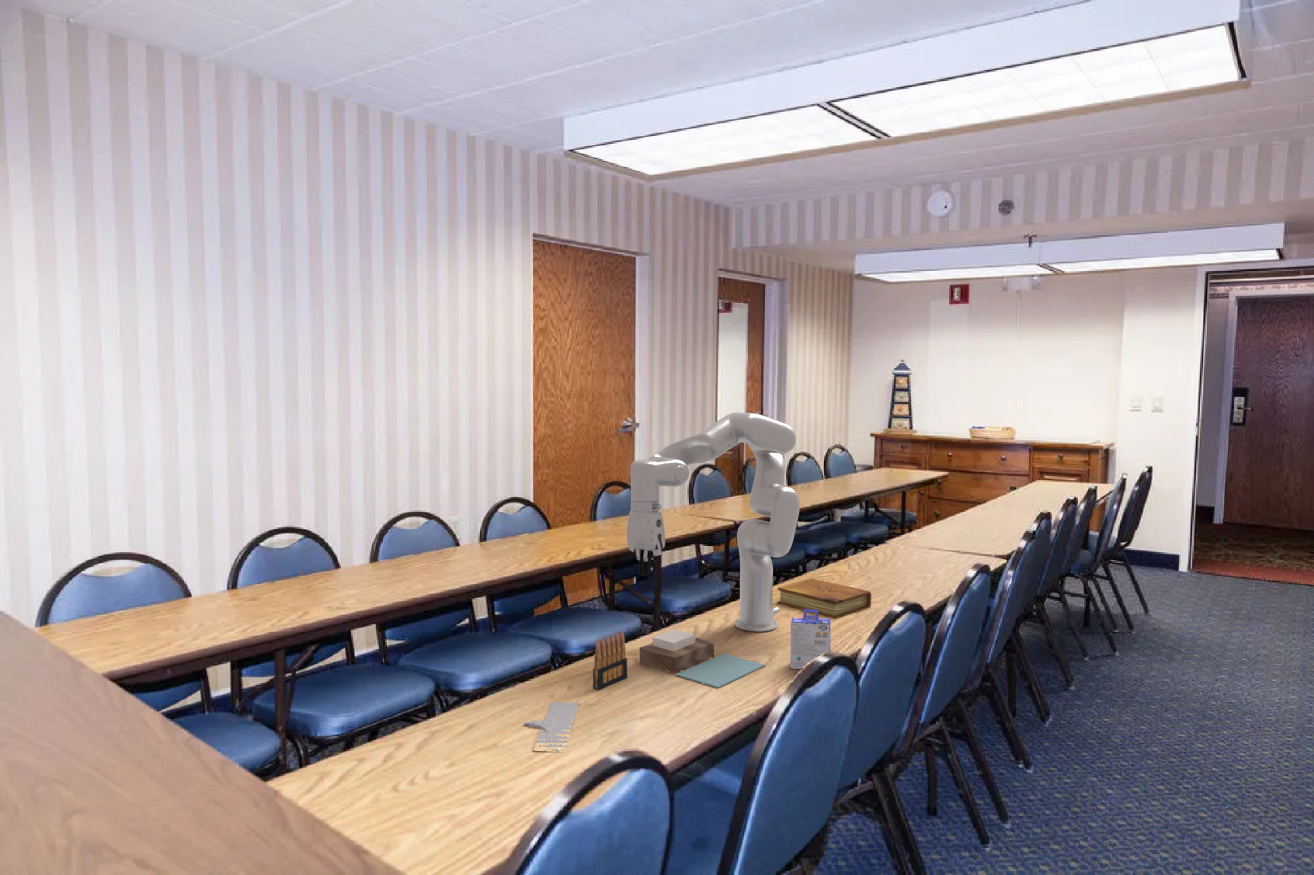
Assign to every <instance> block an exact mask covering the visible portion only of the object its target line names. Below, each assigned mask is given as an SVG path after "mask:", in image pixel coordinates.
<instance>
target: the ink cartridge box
mask: <svg viewBox="0 0 1314 875" xmlns="http://www.w3.org/2000/svg"><path fill="white" fill-rule="evenodd" d="M808 613H813V614H815V615H811V614H809V615H808ZM831 634H832V633H831V619H830V618H822V617H821V618H819V614H818V610H811V609H804V610H803V617H796V616H793V617H791V621H790V667H789V668H790V669H792V670H793V669H794V670H803V669H802V668H803V666H805V665H806V664H807V663H808V662H810V661H811V660H813V659H814V658H815V657H818V656H820V655H821V654H823V653H827V652H830V653H831V643H832V642H831V640H832V639H831Z"/></svg>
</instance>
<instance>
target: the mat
mask: <svg viewBox="0 0 1314 875" xmlns="http://www.w3.org/2000/svg"><path fill="white" fill-rule="evenodd" d="M764 667H766V664H765V663H761V662H756V661H755V660H749V659H745V658H742V657H738V656H735V655H731V654H727V653H722V654H720V655H718V656H714V657H713V658H711V659H709V660H706V661H704V662H702V663H699V664H697V665H695V666H692V667H690V668H688V669H685V670H683V671H681V672H678V673H676V674H675V676H676V675H677V676H676V677H678V676H680V677H679V678H682V677H683V678H682V679H685V680H688V679H690V680H689V681H692V680H693V681H692V682H695V683H698V684H701V683H704V684H703V685H705V684H706V686H708V685H709V686H708V687H712V688H715V687H716V689H718V688H719V689H720V687H721V688H723V687H725V686H727V685H730V684H731V683H733V682H735V681H738V680H739V679H743V678H744V677H746V676H748V675H751V673H754V672H757V671H758V670H760V669H762V668H764Z"/></svg>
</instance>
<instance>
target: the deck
mask: <svg viewBox="0 0 1314 875" xmlns="http://www.w3.org/2000/svg"><path fill="white" fill-rule="evenodd" d="M711 657H713V658H715V641H710V640H707V639H704V638H700V637H696V636H695V643H694V644H691V645H689V646H686V647H684V648H681V649H679V650H676V651H670V650H667V649H663V648H659V647H656V646H653V642H651V643H648V644H646V645H642V646H640V647H639V664H642V665H646V666H648V667H651V666H653V667H652V668H655V669H658V668H659V669H658V670H661V669H662V670H661V671H665V670H667V671H666V672H668V671H670V672H669V673H671V672H673V673H672V674H675V673H676V674H678V673H680V671H681V670H683V671H685V670H687V668H688V669H689V667H690V668H692V667H694V666H696V665H699V664H701V663H700V662H702V663H703V661H704V662H706V661H708V659H709V658H711ZM711 659H712V658H711ZM705 660H706V661H705ZM709 660H710V659H709ZM691 666H692V667H691ZM681 672H682V671H681Z"/></svg>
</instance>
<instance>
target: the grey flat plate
mask: <svg viewBox="0 0 1314 875" xmlns="http://www.w3.org/2000/svg"><path fill="white" fill-rule="evenodd" d="M579 705H580V702H574V701H573V702H568V701H567V702H566V701H565V702H563V701H552V702H551V703H550V705H549V707H548V710H547V713H546V715H545V718H544V719H542V720H535V719H533V720H531V721H529V722H525V721H524V723H523V727H529V726H530V727H536V728H535V729H539V728H540V729H539V732H538V735H537V737H536V740H537V739H540V740H537V741H536V740H535V742H534V744H535V743H550V744H549V745H546V746H545V745H543V747H566V748H567V747H568V744H567V745H565V746H563V745H561V744H560V745H556V744H555V745H552V744H551V743H569V741H566V740H563V741H561V740H559V739H570V737H569V738H568V737H566V736H564V737H561V736H559V735H557V734H570V735H571V734H572V733H567V732H569V731H563V730H571V731H573V727H568V726H574V723H575V720H576V719H575V718H576V717H577V713H578V709H579ZM571 717H572V718H571ZM571 721H574V722H571ZM530 727H529V728H530ZM542 734H543V735H542ZM550 734H551V735H550ZM539 735H540V736H539ZM556 735H557V736H556ZM542 739H545V741H544V740H542ZM551 739H552V740H551ZM539 747H542V746H541V745H539ZM545 751H546V750H545ZM552 751H559V750H558V749H556V748H555V749H554V750H553V749H552ZM562 751H564V750H562Z"/></svg>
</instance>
